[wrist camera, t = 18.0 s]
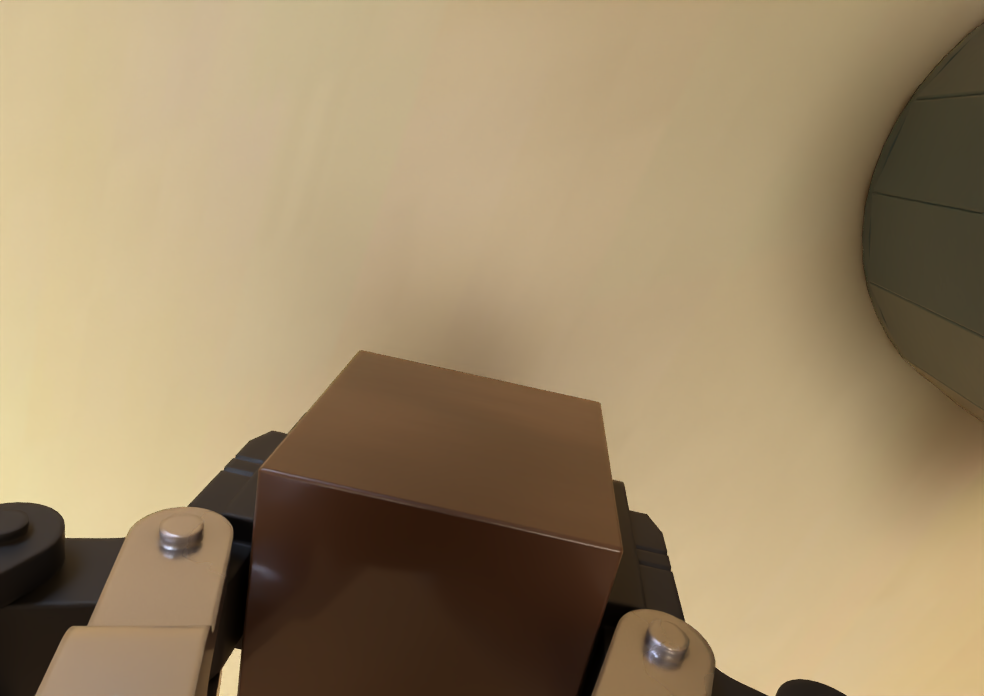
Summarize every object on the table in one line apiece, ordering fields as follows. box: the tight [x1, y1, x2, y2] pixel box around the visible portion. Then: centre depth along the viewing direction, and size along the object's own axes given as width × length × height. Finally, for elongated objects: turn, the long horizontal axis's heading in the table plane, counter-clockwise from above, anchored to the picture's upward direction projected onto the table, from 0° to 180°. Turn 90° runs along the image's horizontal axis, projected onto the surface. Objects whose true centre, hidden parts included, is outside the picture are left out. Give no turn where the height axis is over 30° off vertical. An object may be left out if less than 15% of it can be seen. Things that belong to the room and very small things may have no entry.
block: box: [237, 350, 623, 696], centre depth 11 cm, size 4×4×4 cm
